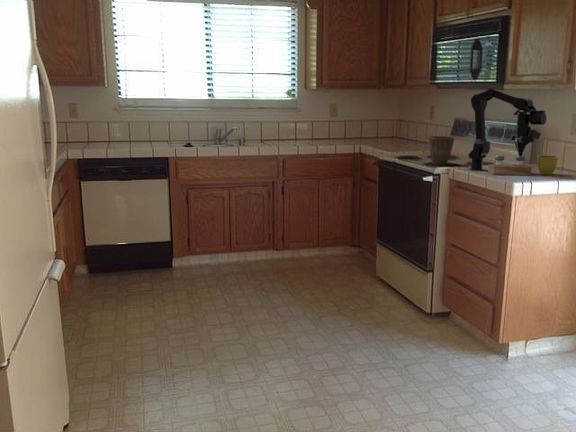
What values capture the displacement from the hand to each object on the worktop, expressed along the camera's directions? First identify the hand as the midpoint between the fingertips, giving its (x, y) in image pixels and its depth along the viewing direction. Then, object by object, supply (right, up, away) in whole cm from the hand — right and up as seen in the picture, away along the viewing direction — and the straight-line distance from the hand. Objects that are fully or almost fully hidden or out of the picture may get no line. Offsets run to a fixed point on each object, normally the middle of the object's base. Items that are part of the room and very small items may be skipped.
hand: (520, 155), depth 274 cm
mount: (-5, -9, +2) cm, 10 cm away
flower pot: (+13, -9, +1) cm, 16 cm away
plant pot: (-27, 0, +47) cm, 54 cm away
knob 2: (0, -6, +1) cm, 6 cm away
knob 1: (-10, -6, +2) cm, 12 cm away
